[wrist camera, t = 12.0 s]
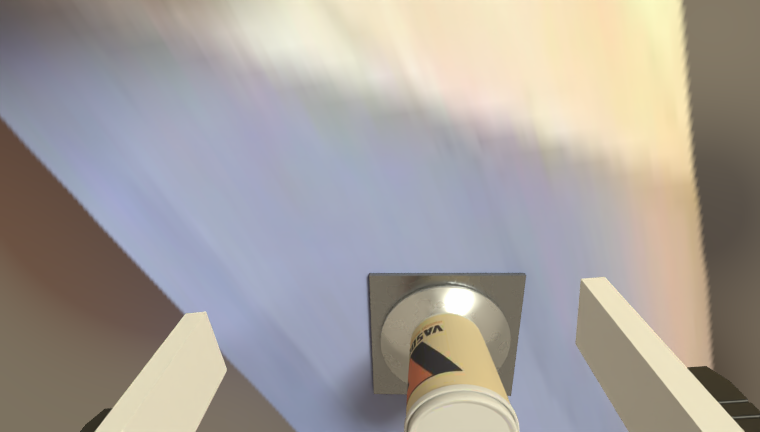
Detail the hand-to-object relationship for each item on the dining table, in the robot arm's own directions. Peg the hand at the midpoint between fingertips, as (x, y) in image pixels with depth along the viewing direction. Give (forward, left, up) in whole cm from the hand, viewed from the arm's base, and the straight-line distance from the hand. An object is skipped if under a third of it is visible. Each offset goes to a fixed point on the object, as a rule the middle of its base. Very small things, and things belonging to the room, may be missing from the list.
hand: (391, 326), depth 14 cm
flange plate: (+20, +5, -25) cm, 32 cm away
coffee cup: (+20, +5, -24) cm, 31 cm away
